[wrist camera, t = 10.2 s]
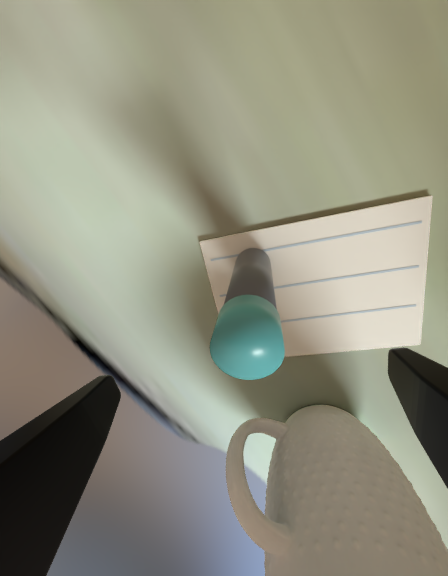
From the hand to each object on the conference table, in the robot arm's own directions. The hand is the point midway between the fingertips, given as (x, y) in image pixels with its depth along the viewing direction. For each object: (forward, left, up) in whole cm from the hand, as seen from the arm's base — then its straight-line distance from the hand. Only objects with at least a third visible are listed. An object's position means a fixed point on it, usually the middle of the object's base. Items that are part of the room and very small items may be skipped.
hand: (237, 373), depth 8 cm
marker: (0, 0, -11) cm, 11 cm away
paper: (-4, +3, -12) cm, 13 cm away
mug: (-3, +17, -12) cm, 21 cm away
